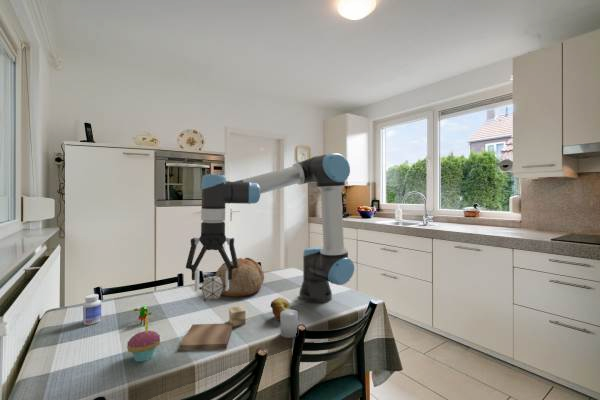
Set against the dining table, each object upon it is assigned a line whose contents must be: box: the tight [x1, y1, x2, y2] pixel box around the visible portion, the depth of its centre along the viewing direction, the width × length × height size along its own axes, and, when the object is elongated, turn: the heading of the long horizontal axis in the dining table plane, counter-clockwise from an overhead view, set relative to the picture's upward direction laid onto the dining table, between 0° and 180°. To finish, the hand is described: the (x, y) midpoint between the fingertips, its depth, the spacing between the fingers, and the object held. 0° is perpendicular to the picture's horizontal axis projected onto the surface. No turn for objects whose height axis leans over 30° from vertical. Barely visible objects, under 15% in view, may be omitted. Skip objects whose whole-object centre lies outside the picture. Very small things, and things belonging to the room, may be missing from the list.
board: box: [179, 322, 234, 351], centre depth 95 cm, size 14×14×2 cm
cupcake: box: [126, 312, 161, 363], centre depth 83 cm, size 9×8×12 cm
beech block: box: [228, 305, 247, 327], centre depth 107 cm, size 5×5×5 cm
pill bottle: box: [82, 293, 102, 326], centre depth 105 cm, size 5×5×10 cm
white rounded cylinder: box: [279, 309, 299, 339], centre depth 98 cm, size 6×6×7 cm
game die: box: [198, 274, 226, 302], centre depth 95 cm, size 9×8×10 cm
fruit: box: [270, 297, 291, 321], centre depth 110 cm, size 8×8×8 cm
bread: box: [214, 257, 265, 298], centre depth 144 cm, size 26×23×15 cm
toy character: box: [133, 306, 154, 327], centre depth 105 cm, size 11×12×7 cm
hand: (212, 289), depth 95 cm, fingers closed on game die, 9 cm apart
